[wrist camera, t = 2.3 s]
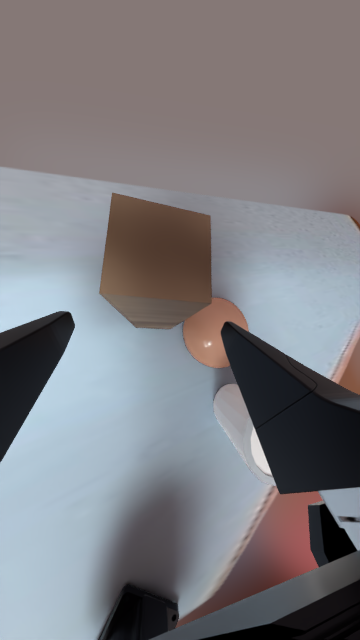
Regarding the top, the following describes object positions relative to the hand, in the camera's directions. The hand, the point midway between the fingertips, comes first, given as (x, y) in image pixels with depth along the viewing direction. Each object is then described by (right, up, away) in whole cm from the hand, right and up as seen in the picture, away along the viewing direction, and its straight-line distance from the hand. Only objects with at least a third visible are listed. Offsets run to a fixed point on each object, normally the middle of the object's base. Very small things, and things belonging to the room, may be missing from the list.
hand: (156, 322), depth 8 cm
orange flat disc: (+7, -2, +12) cm, 14 cm away
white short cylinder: (+9, -12, +11) cm, 18 cm away
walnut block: (-2, +1, +10) cm, 10 cm away
